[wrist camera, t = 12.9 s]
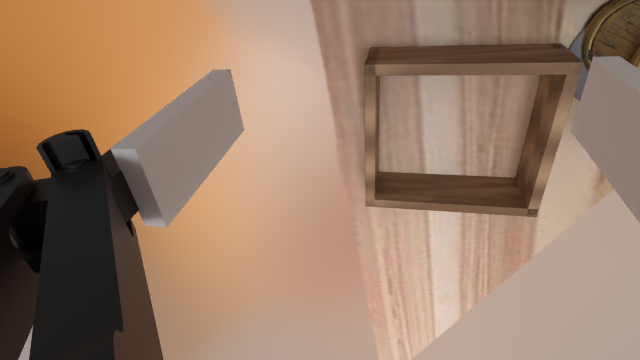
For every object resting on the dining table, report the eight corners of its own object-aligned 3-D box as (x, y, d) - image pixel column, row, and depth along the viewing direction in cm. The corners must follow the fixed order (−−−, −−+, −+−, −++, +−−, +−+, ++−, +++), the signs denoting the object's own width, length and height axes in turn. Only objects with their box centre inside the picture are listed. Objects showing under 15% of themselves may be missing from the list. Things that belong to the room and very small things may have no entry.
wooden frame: (370, 47, 47) (364, 64, 42) (561, 43, 43) (584, 62, 37) (370, 178, 58) (365, 206, 52) (522, 185, 54) (536, 216, 48)
